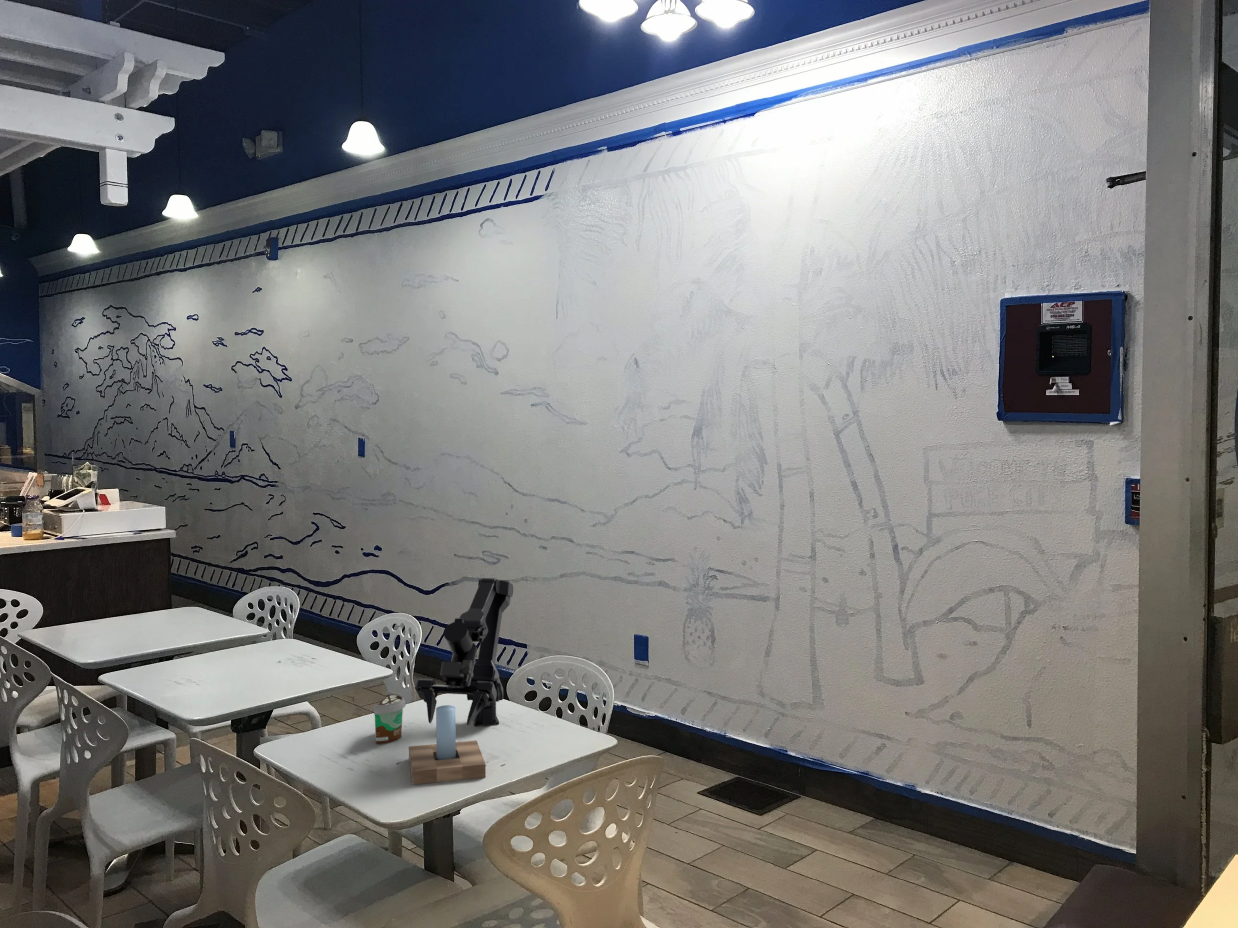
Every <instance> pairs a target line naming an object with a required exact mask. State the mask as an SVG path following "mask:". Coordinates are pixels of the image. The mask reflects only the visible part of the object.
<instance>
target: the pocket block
mask: <svg viewBox="0 0 1238 928" xmlns="http://www.w3.org/2000/svg"><path fill="white" fill-rule="evenodd" d="M408 760H409V761H408V762H409V767H410V774H411V780H412V785H422V783H423V784H432V783H441V782H451V781H452V780H453V781H460V780H462V781H463V780H471V778H473V779H479V778H480V779H481V778H486V776H487V775H486V765H487V764H486V762H485V760H484V756H483V753H482V751H481V748H480V745H479V743H478V740H476V739H475V740H465V741H463V740H462V741H456V759H446V760H437V755H436V743H433V744H431V743H430V744H420V745H411V746H408ZM453 781H452V782H453Z"/></svg>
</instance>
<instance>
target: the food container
mask: <svg viewBox="0 0 1238 928" xmlns="http://www.w3.org/2000/svg"><path fill="white" fill-rule="evenodd" d="M385 694H386V695H385V697H384V698H382V699H381V701H380V702H379V704H377V705H374V707H373V715H374V726H375V727H374V728H375V729H374V731H375V733H374V734H375V744H376V745H382V744H383V745H384V744H385V745H386V744H389V743H390V744H391V743H393V742H396V741H398V740H400V739H401V738H402V729H403V728H402V727H403V712H404V709H405V707H406V701H405V698H404V696H403V694H401V693H398V692H393V691H386V693H385Z"/></svg>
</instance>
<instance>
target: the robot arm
mask: <svg viewBox="0 0 1238 928" xmlns="http://www.w3.org/2000/svg"><path fill="white" fill-rule="evenodd" d="M477 583H478V585H477V590H476V591H475V594H474V596H473V598H472V600H471V603H470V606H469V608H468V610H467V611H465V612H463V613H462V614H461V615H460V616H459V617H458V618H454V621H452V622H451V623H449V624H448V625H446V627H445V628H444V629H443V637H444V640H445V643H446V644H447V645H448V649H449V651H451V653H452V656H451V659H450V660H451V661H441V668H440V677H442V682H443V683H445V684H437V683H436V681H435V679H434V678H419V679H418V680H417V681H416V683H415V686H414V689H415V691H416V693H417V695H418V697H419V699H420V700H422V701H423V702H424V703H426V710H427V712H426V713H427V719H428V723H429V724H432V722H433V720H434V716H435V713H436V708H437V707H436V706H437V699H436V698H437V697H438V694H444V695H445V694H451V695H466V700H467V701H471V704H470V707H469V712H468V714H467V715H468V716H467V718H466V719H467V721H466V724H467V726H469V725H471V724H472V723H473V725H474V727H476V726H477V727H479V726H481V727H482V726H491V725H499V724H500V720H499V718H498V716H497V702H499V701H504V687H503V684H502V683H501V679H500V674H499V671H498V669H497V666H496V658H497V651H498V643H499V639H500V631H501V624H502V616H503V613H504V612H505V611H506V610H507V608H508V607H509V606H510V604H511V598H512V597H513V595H514V585H513V583H511V582H510V581H509V580H508V579H497V578H496V577H495V578H493V577H482V578H479V579H478V582H477ZM476 643H479V651H478V646H477V645H476ZM476 659H477V660H476Z"/></svg>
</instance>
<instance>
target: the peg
mask: <svg viewBox="0 0 1238 928" xmlns="http://www.w3.org/2000/svg"><path fill="white" fill-rule="evenodd" d="M456 709H457V708H456V706H454V705H451V704H448V705H447V704H445V705H440V706H437V707H435V721H436V722H435V725H436V726H435V729H436V731H435V734H436V735H435V737H436V741H435V744H436V755H437V760H446V759H456V742H457V741H456V740H457V739H456V737H457V733H456V731H457V730H456V729H457V725H456V718H457V717H456V714H457V713H456V711H457V710H456Z"/></svg>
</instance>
